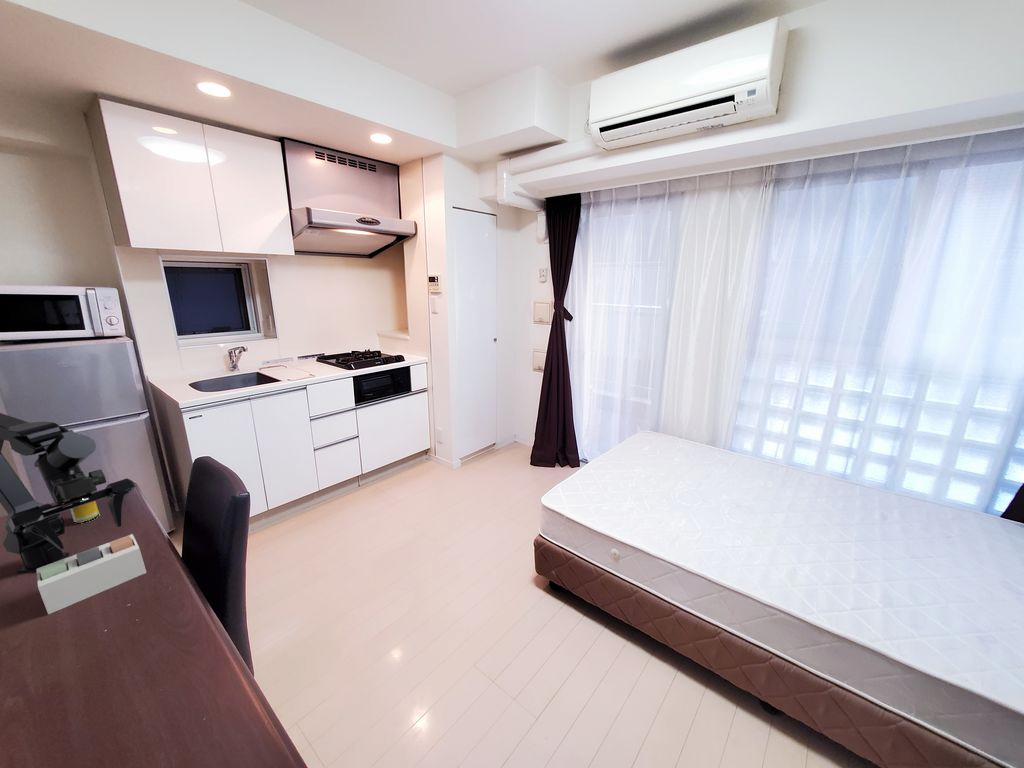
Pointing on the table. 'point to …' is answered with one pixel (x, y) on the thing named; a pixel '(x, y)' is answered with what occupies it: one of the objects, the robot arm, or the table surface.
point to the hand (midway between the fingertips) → (92, 537)
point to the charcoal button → (88, 556)
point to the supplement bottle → (84, 512)
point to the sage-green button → (53, 569)
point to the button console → (90, 576)
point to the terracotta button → (121, 544)
